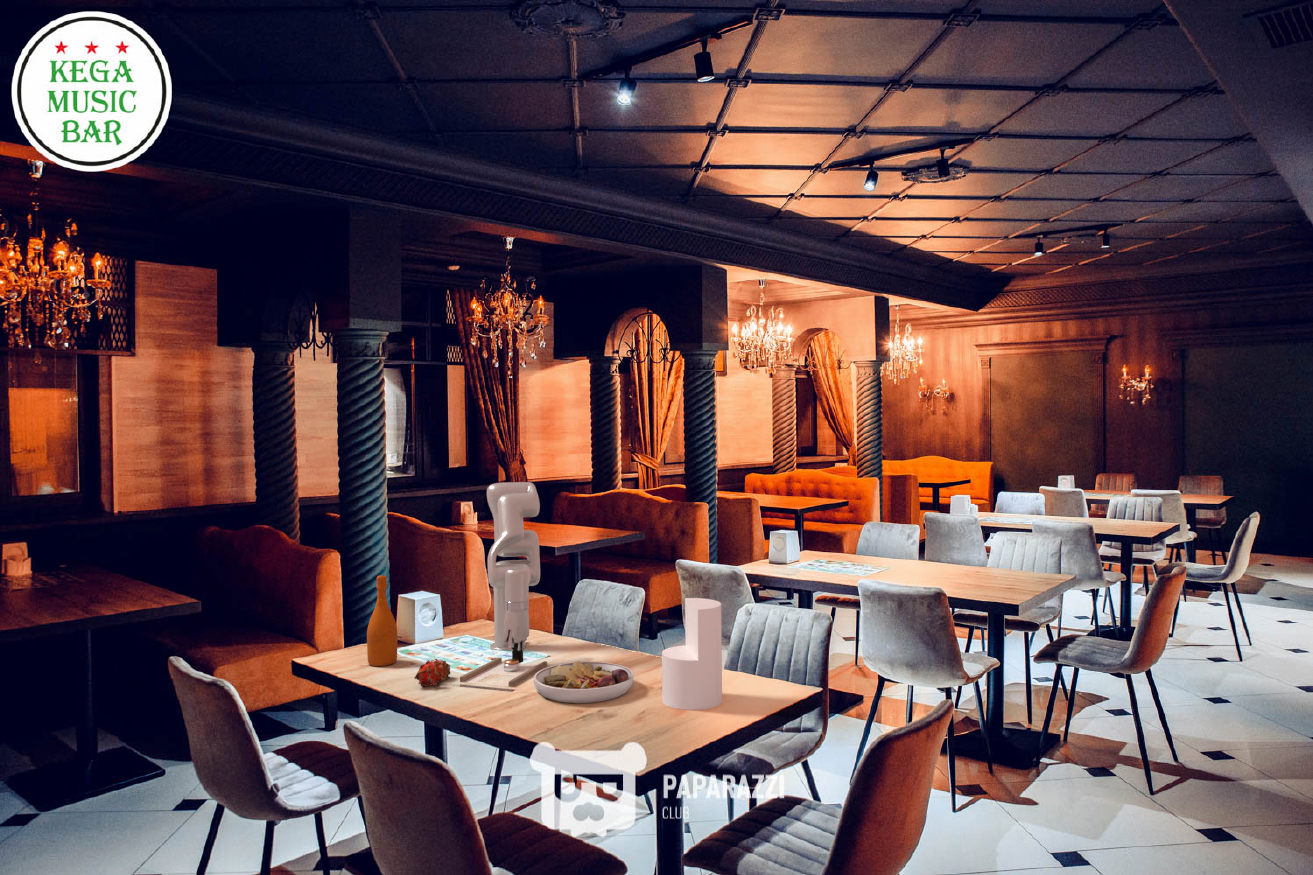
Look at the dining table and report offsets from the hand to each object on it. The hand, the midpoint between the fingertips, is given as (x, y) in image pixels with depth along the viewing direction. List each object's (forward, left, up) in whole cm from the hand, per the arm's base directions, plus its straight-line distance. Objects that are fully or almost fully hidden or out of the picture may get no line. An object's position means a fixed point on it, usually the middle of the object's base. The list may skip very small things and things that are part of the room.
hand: (517, 662), depth 279 cm
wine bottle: (+4, -49, -3) cm, 49 cm away
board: (+8, 0, -3) cm, 9 cm away
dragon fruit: (+21, -18, -3) cm, 28 cm away
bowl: (+12, +29, -4) cm, 32 cm away
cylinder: (+12, +63, -3) cm, 64 cm away
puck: (+4, 0, -2) cm, 4 cm away
